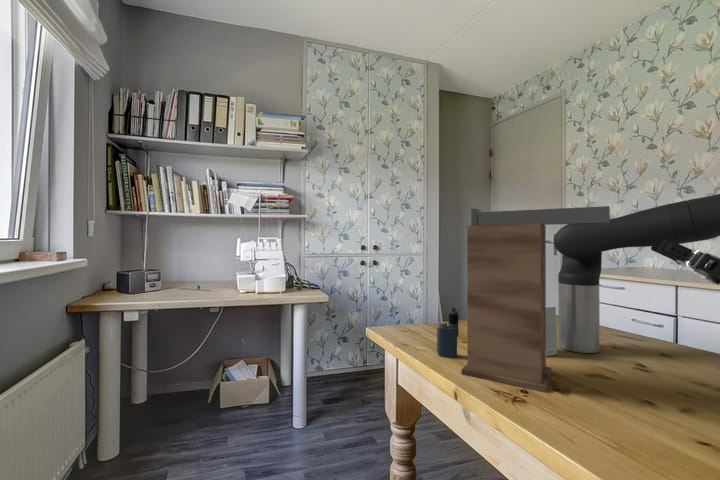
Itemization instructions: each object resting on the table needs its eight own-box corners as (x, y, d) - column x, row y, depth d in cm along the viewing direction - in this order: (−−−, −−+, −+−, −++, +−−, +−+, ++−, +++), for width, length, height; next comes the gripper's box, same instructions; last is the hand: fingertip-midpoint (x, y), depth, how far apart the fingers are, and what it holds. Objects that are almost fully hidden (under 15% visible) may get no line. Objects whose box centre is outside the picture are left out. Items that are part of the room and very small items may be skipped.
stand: (476, 358, 83) (476, 227, 83) (551, 372, 74) (551, 225, 75) (461, 374, 73) (461, 225, 73) (545, 392, 64) (545, 223, 65)
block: (475, 226, 79) (475, 210, 79) (608, 223, 66) (608, 203, 66) (471, 225, 76) (471, 208, 76) (609, 222, 62) (609, 201, 62)
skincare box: (558, 354, 86) (557, 306, 86) (544, 356, 84) (544, 307, 84) (537, 347, 92) (537, 302, 92) (524, 349, 90) (524, 303, 90)
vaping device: (459, 358, 83) (459, 308, 83) (437, 356, 84) (437, 308, 85) (458, 354, 86) (458, 306, 86) (437, 353, 87) (436, 306, 87)
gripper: (775, 273, 57) (664, 227, 65) (823, 282, 45) (680, 223, 53) (742, 309, 59) (638, 260, 67) (781, 326, 47) (649, 264, 55)
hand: (657, 244), depth 60 cm, fingers open, 8 cm apart
